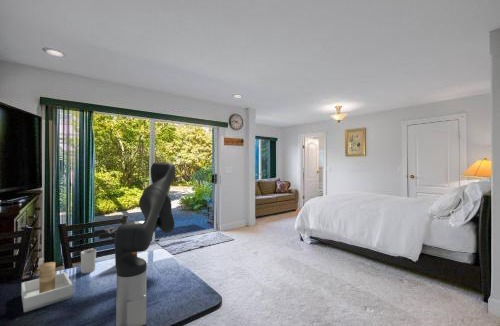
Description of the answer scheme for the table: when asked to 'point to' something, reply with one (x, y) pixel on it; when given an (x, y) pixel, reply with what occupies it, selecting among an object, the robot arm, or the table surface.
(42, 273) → the wooden cylinder
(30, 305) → the tote
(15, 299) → the table surface
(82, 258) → the drinking glass
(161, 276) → the table surface
